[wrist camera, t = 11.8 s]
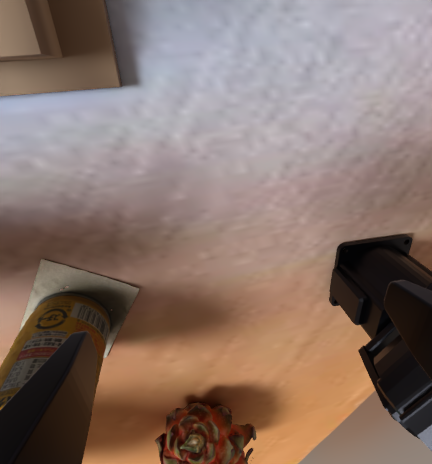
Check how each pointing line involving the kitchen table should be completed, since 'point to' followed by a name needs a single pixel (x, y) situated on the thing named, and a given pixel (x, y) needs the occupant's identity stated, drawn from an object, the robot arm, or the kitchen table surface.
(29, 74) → the block
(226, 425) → the dragon fruit
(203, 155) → the kitchen table surface
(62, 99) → the kitchen table surface
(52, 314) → the condiment
